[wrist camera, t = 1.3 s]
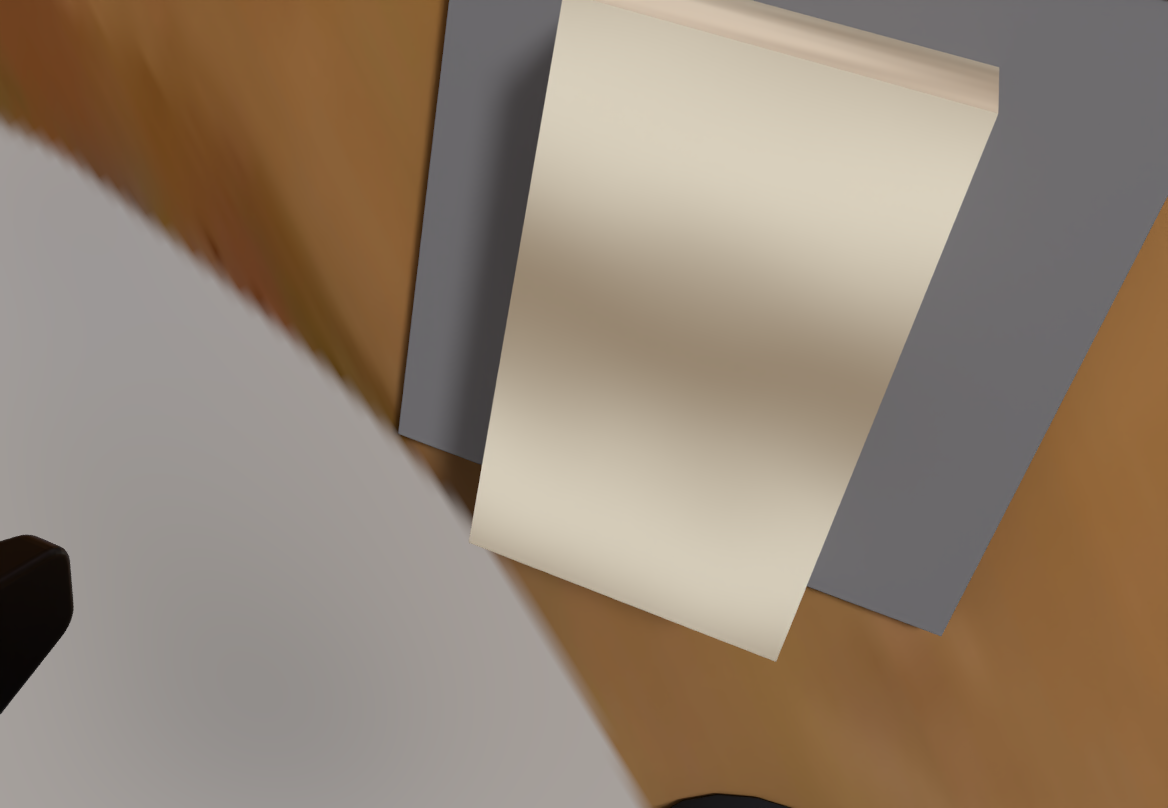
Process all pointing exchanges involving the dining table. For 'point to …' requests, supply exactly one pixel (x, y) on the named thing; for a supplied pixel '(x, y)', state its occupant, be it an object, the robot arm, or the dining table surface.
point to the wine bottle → (726, 802)
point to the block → (715, 297)
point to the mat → (951, 303)
